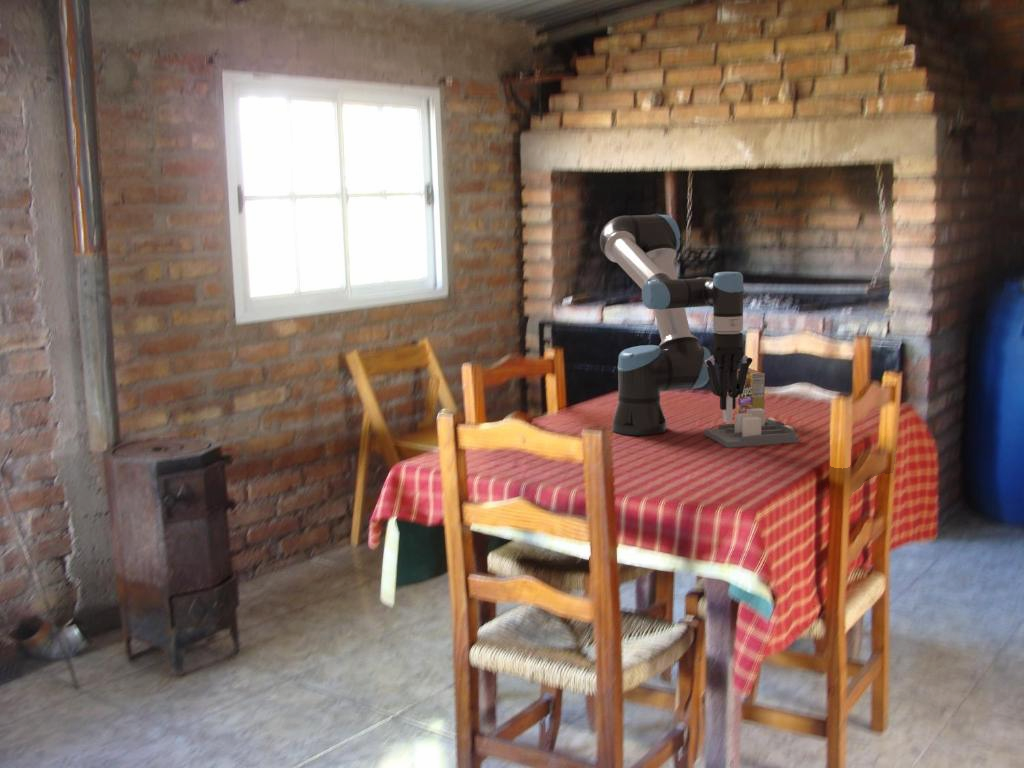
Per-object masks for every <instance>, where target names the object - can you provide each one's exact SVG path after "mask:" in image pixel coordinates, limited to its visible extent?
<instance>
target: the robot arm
mask: <svg viewBox="0 0 1024 768" xmlns="http://www.w3.org/2000/svg"><path fill="white" fill-rule="evenodd" d="M600 232H601V233H600V237H599V247H600V248H601V251H602V253H603V254H604V256H605V257H606V258H607V259H608V260H609V261H611V262H612V263H616V264H618V265H619V266H620V268H621V269H622V270H623V271H624V272H625V273H626V274H627V275H628V276H629V277H630V278H631V280H632V281H634V282H635V283H636V285H638V287H639V288H640V289H641V300H642V302H643V305H644V306H645V308H647V309H649V310H653V312H654V315H655V319H656V323H657V328H658V332H659V337H660V340H661V342H660V343H659V345H655V344H647V345H638V346H632V347H629V348H625V349H623V350H622V351H621V352H620V353H619V355H618V363H617V379H618V381H617V382H618V383H617V385H618V386H617V387H618V388H617V389H618V391H617V392H618V402H617V406H616V410H615V411H614V412H615V413H614V416H613V419H612V423H611V424H612V425H611V426H612V429H611V430H612V431H613V432H615V433H617V434H622V435H629V436H652V435H657V434H662V433H665V432H666V431H667V420H666V417H665V414H664V410H663V408H662V404H661V392H668V391H669V392H670V391H681V390H682V391H683V390H684V391H685V390H688V391H690V390H694V389H699V388H702V387H704V386H705V385H707V384H708V382H710V386H711V391H712V394H713V395H714V396H717V397H719V409H720V410H722V422H724V423H727V424H732V423H733V410H736V404H737V403H736V401H737V400H736V399H737V396H738V395H739V394H742V393H743V390H744V385H745V381H746V377H747V373H748V368H750V365H752V363H753V358H751V357H749V356H747V355H746V354H745V351H744V349H743V348H744V347H743V346H744V335H743V333H742V332H743V330H744V326H743V325H744V290H745V286H744V275H743V273H741V272H740V271H720V272H719V271H718V272H715V273H714V274H713V277H710V276H700V277H696V278H680V279H679V278H678V275H677V271H676V267H675V263H674V260H675V258H676V257H677V252H678V251H679V249H680V246H681V240H680V239H681V232H680V228H679V225H678V223H677V222H676V221H675V219H674V218H673V217H671V216H669V215H667V214H659V213H653V214H648V215H647V214H644V215H643V214H641V215H620V216H616V217H614V218H613V219H611V220H609V221H608V222H607V223H606V224H605V225H604V226H603V228H602V230H601V231H600ZM701 307H702V308H703V307H710V308H713V318H712V319H713V320H712V321H713V323H712V324H713V326H712V327H713V331H714V333H713V337H712V339H713V344H712V345H713V350H712V353H711V352H710V351H709V348H707V347H706V346H702V345H700V342H699V339H698V337H697V336H695V335H693V334H692V333H691V328H690V325H689V321H688V317H687V313H686V308H701ZM740 362H741V364H740V367H739V369H740V371H739V375H738V379H737V369H738V365H739V363H740ZM715 363H716V364H717V366H718V376H719V377H718V376H717V373H716V372H717V371H716V368H715Z"/></svg>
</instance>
